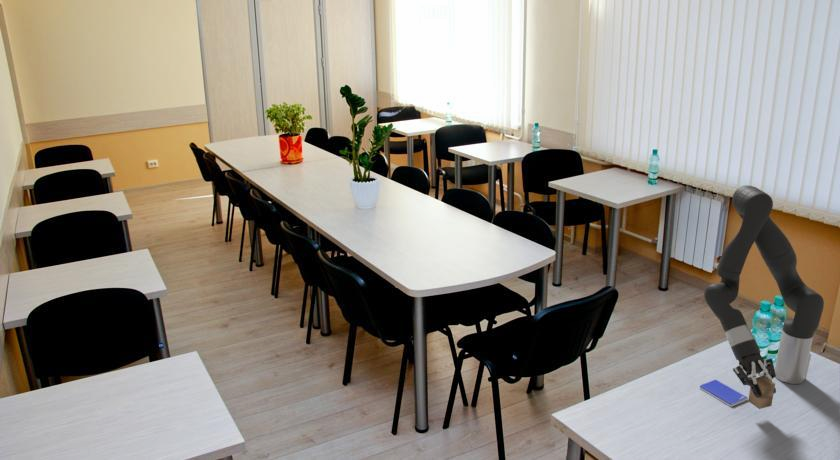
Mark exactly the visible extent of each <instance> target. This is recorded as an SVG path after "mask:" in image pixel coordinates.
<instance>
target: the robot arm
mask: <svg viewBox="0 0 840 460" xmlns="http://www.w3.org/2000/svg"><path fill="white" fill-rule="evenodd" d="M731 200H732V201H731V202H732V206H733V208H734V210H735V211H736V212H737V214H738V216H739V217H740V218H741V220H742V222H741V225H740V227H739V230H738V232H737V234H736V235H735V236H734V237H733V239H731V241H730V242H729V243H728V244H727V245H726V246H725V248H724V250H723V252H722V253H721V257H720V259H719V263H718V265H717V268H716V274H717V276H719V278H720V282H719V283H712V284H709V285H707V286H706V287H705V289H704V292H703V293H704V294H703V295H704V300H705V302H706V304H707V306H708V308H709V309H710V310H711V311H712V313H713V314H714V315H715V316H716V317H717V319H718V320H719V321H720V324H721V327H722V329H723V330H724V333H725V337H726V339H727V341H728V344H729V346H730V348H731V349H730V350H731V351H732V353H733V355H734V357H735V359H736V360H737V361H738V366H736V367H734V368H732V371H733V372H734V374H735V375H736V377H737V378H738V379H739V381H740V383H741V384H742V385H743V386H749V387H751V389H752V391H753V393H754V395H755V396H756V397H757V398H759V397H762V396H763V395H762V393H761V391H760V388H759V386H758V384H757V381H756V378H757V377H761V376H765V377H766V378H768V379H769V380H771V381H772V382H773V379H774V378H776V379H778V380H779V381H781V382H784V383H787V384H791V385H800V384H802V383H804V382H805V381H804V380H806V379H807V376H808V371H809V367H810V361H811V356H812V354H811V348H812V344H813V340H814V336H815V335H814V334H815V332H817V329H818V327H819V325H820V322H821V317H822V315H823V311H824V305H825V302H824V297H822V295H821V294H819V292H816V291H815V290H814V289H812V288H810V286H808V285H806V283H805V282H804V281H803V279H802V278H801V276H800V275H799V273H798V270H797V264H798V258H797V254H796V252H795V250H794V247H793V245H792V244H791V242H790V240H789V239H788V237H787V236H786V234H785V233H784V232H783V231H782V230H781V229H780V228H779V226H778V224H776V223H775V222H774V221H773V220H772V218H771V217H770V214H771V212H772V211H773V210H772V209H773V206H774V201H773V198H772V197H771V195H769V194H768V193H767V192H765V191H763V190H761V189H760V188H758V187H756V186H754V185H753V186H752V185H746V184H745V185H742V186H739V187H737V188H736V190H735V191H734V193H733V195H732V199H731ZM753 244H755V246H756V248H757V250H758V251H759V254H760V256H761V258H762V259H763V261H764V262H763V263H764V264H765V265H766V267H767V268H768V270H769V272H770V273H771V276H772V277H773V279H774V280H775V283H776V284H777V286H778V289H779V291H780V295H781V299H782V300H783V302H784V304H785V306H786V307H787V308H788V309H790V311H793V313H794V316H793V318H791V319H787V320H785V321H784V322H783V325H782V331H781V335H780V340H779V346H778V351H777V356H776V360H775V365H774V361H773V359H772V358H767V359H766V358H763V356H762V355H761V349H760V347H759V345H758V343H757V340H756V338H755V336H754V334H753V332H752V330H751V329H750V327H749V326H748V324H747V321H746V319H745V317H744V314H743V312H742V311H741V310H740V309H738V308H734V307H733V306H732V305H731V304H732V303H734V302H735V301H736V299H737V297H738V295H739V290H740V279H741V278H740V276H741V274H742V271H743V269H744V266H745V263H746V261H747V258H748V255H749V253H750V250H751V249H752V247H753ZM756 384H757V385H756ZM776 390H777V388H776V387H775V388H774V393H773V395H775V394H776V392H777V391H776Z"/></svg>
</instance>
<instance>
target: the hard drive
mask: <svg viewBox="0 0 840 460" xmlns="http://www.w3.org/2000/svg"><path fill="white" fill-rule="evenodd" d="M698 389H700V390H702V391H704V392H705V393H706V394H708V395H710V396H712V397H714V398H715V399H716V400H719V401H720V402H722V403H724V404H725V405H727V406H728V407H734V406H737V405H738V404H741V403H743V402H746V401H748V399H749V396H746V395H744V394H742V393H741V392H739V391H737V390H735V389H733V388H732V387H730V386H729V385H727V384H725V383H723V382H722V381H719V380H717V379H714V380H711V381H709V382H708V381H707V382H706V383H703V384H700V385H699V387H698Z"/></svg>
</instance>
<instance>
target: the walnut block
mask: <svg viewBox="0 0 840 460" xmlns="http://www.w3.org/2000/svg"><path fill="white" fill-rule="evenodd" d="M756 381H757V384H758V386H759V388H760V391H761V393H762V395H763V396H762V397H759V398H757V397H756V396H755V395H754V393H753V391H752V389H751V387H750V386H749V387H750V388H749V395H748V400H747V401H748V402H749V403H750V404H752V405H753V406H754V407H756V408H757V409H759V410H762V409H764V408H768V407H769V408H770V407H772V405H773V399H774V394H775V393H774V388H776V383H775V382H774V381H773V380H772V381H771V380H769V379H768V378H766V377H765V376H761V377H760V376H756ZM757 384H756V385H757ZM773 393H774V394H773Z"/></svg>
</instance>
